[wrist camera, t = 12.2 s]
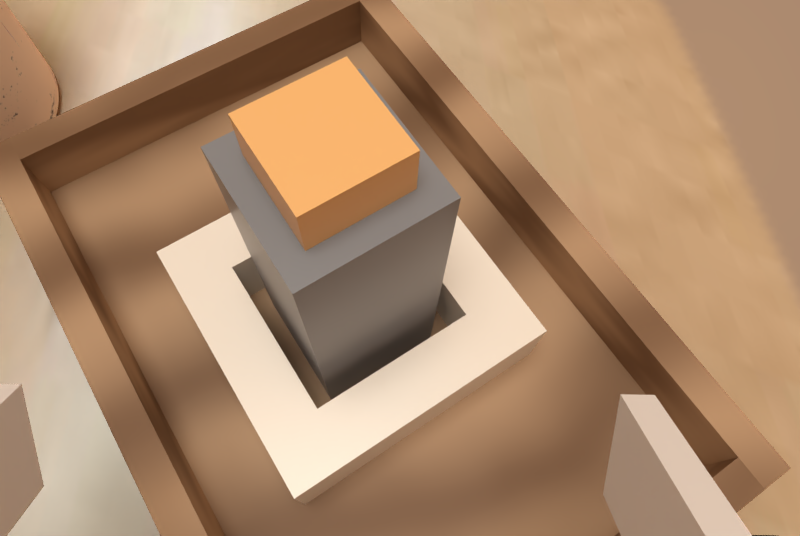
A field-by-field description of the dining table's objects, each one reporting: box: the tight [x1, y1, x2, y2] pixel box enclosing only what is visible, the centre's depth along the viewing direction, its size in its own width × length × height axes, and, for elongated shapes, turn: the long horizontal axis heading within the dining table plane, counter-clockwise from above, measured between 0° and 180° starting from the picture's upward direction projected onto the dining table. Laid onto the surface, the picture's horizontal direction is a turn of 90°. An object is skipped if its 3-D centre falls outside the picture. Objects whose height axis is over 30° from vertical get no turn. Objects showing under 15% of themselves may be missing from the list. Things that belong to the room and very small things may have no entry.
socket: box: [157, 213, 547, 504], centre depth 24 cm, size 10×10×3 cm
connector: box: [201, 56, 461, 400], centre depth 19 cm, size 4×4×13 cm
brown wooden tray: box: [0, 0, 790, 536], centre depth 25 cm, size 26×18×4 cm
